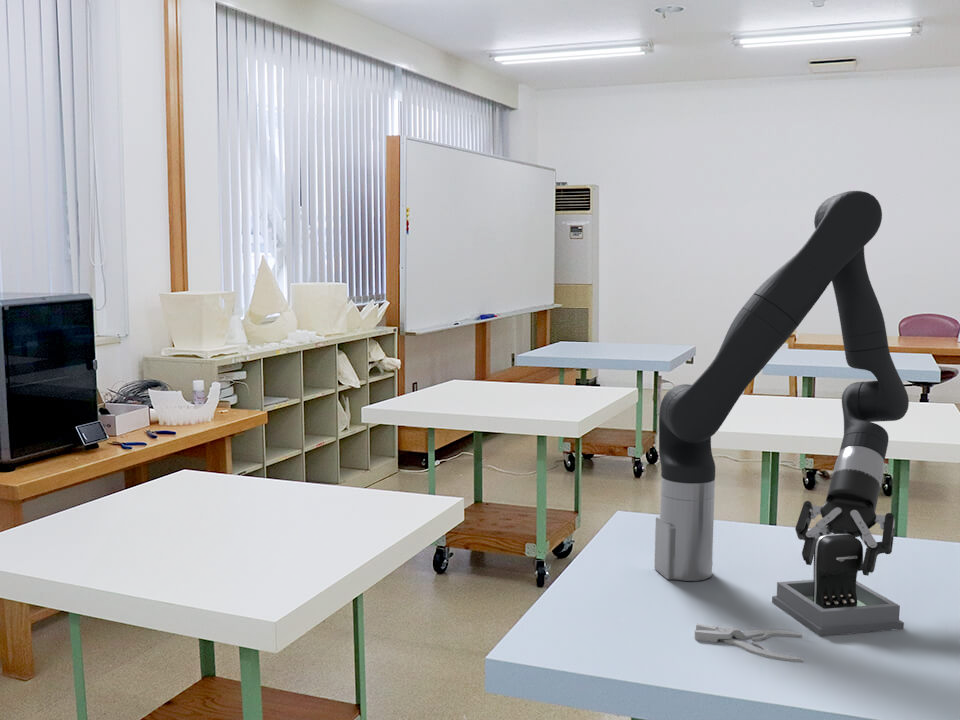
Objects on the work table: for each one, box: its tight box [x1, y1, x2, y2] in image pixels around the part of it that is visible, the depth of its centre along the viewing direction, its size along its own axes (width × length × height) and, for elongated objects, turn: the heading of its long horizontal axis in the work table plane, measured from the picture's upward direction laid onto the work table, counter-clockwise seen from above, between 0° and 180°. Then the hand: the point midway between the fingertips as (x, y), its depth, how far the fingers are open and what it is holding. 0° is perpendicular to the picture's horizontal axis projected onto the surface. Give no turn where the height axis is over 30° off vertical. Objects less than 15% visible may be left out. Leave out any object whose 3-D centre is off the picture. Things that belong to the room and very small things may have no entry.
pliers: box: [694, 623, 803, 663], centre depth 139 cm, size 10×2×15 cm
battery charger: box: [813, 533, 864, 609], centre depth 148 cm, size 7×4×11 cm, turn 103°
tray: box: [771, 579, 905, 637], centre depth 149 cm, size 14×14×4 cm
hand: (836, 567), depth 147 cm, fingers open, 8 cm apart
